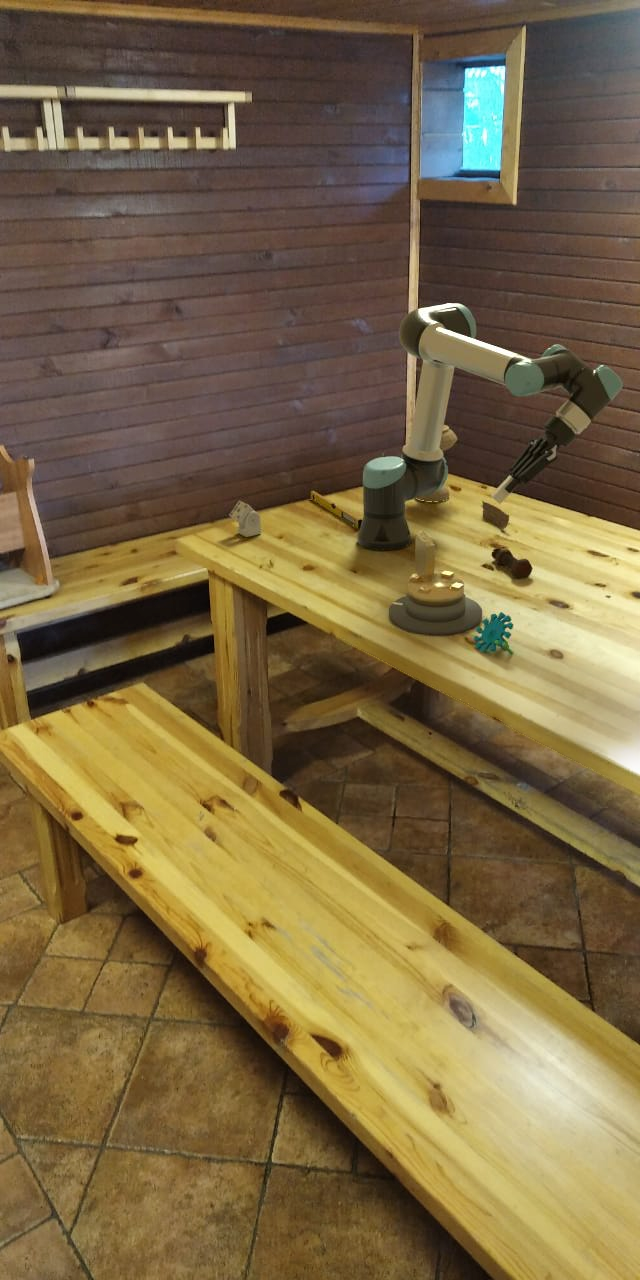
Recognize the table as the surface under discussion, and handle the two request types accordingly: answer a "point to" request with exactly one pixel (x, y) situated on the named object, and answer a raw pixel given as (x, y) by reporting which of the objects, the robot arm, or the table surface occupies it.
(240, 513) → the mechanical component
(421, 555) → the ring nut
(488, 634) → the teal spiky piece
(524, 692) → the table surface
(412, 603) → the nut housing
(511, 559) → the bolt
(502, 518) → the wood plank
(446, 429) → the oil lamp
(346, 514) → the spirit level
